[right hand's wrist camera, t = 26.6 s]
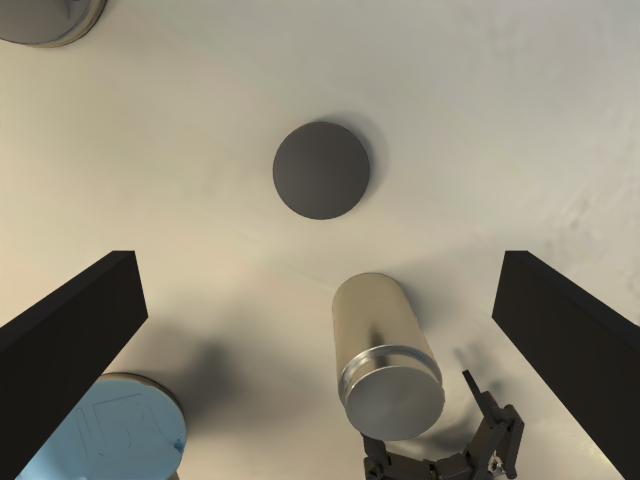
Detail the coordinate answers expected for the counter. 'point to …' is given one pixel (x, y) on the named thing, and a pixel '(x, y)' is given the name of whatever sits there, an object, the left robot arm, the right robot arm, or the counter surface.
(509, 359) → the counter surface
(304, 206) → the lid
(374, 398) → the jar
